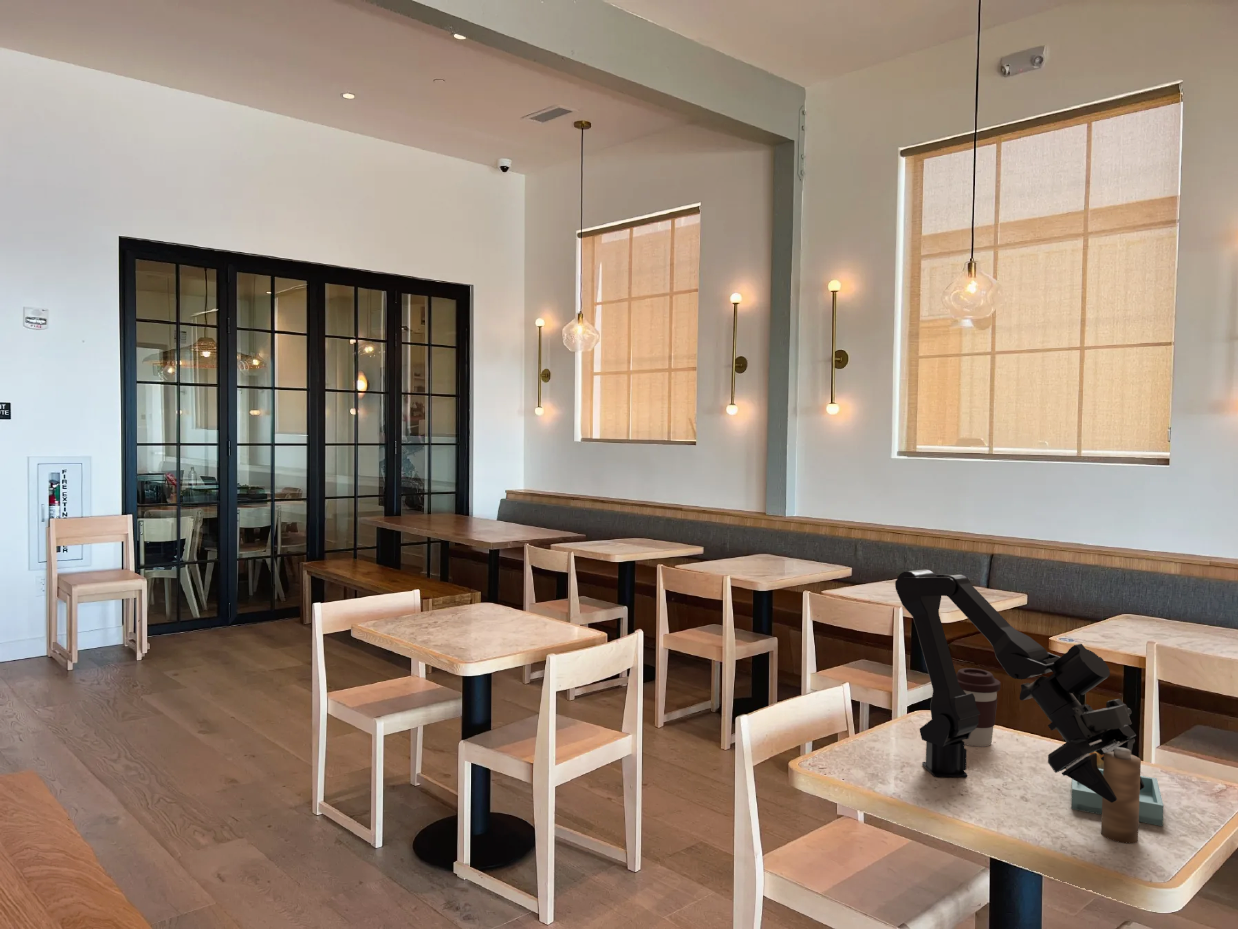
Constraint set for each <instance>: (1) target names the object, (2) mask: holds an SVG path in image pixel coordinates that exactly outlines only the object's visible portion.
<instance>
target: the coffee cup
mask: <svg viewBox="0 0 1238 929" xmlns="http://www.w3.org/2000/svg"><path fill="white" fill-rule="evenodd" d="M956 672H957V673H956V676H957V679H958V683H959V685H960V687H961V688H962V689H963V691H964V692H965V693H966V694H970V693H973V694H974V697H975V702H976V706H977V709H978V711H979V712H980V715H978V719H979V722H978V725H977V727H976V729H975V730H974V731H973V732H971V734H970V737H969V739H964V740H962V741H964V746H969V745H970V747H977V748H980V747H988V746H990V745H991V744H992V743H993V742H992V741H993V735H994V734H993V732H994V727H995V725H996V715H997V707H998V705H997V704H998V696H997V694H998V692H999V691H1001V685H1002V684H1001V681H1000V680H998V679H997V678H995V676H994V674H993V673H992V672H991V671H988V670H985V669H981V668H975V667H965V668H964V667H963V668H959V669H958V671H956Z"/></svg>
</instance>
